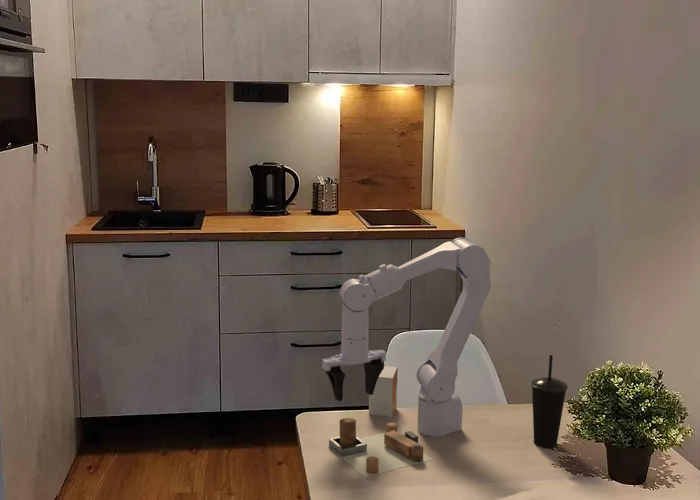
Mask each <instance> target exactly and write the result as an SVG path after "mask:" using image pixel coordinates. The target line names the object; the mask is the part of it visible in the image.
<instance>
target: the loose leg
mask: <svg viewBox="0 0 700 500" xmlns="http://www.w3.org/2000/svg"><path fill="white" fill-rule="evenodd" d="M339 436H340V446H342V447H343V448H346V447H350V446H354V445H356V436H357V420H356V419H355V418H352V417H344V418H341V419H340V420H339Z"/></svg>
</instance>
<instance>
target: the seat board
mask: <svg viewBox="0 0 700 500" xmlns="http://www.w3.org/2000/svg"><path fill="white" fill-rule="evenodd" d="M385 430H386V431H385V432H383V433H381V432H380V433H377V434H373V435H369V436H364V437H361V438H360V437H359V438H360V439H361V440H362V441H364V442H365V443H366V444H367V451H365V452H361V453H357V454H353V455H349V456H345V457H342V456H340V455H339V454H338V453H337V452H336V451H334V450H333V449H332V448H331V447H330V446H329V445H328V447H329V448H330V449H331V450H333V451H334V452H335V454H336V455H338V456H340V457H341V458H342V459H343V460H344V461H346V462H347V463H348V464H349V465H350V466H351V467H352V468H353V469H355V470H356V472H358V473H359V474H360V475H362V476H363V477H364V478H367V477H371V476H375V475H379V474H383V473H386V472H392V471H394V470H399V469H403V468H406V467H407V468H408V467H409V466H415V465H418V464H422V463H426V462H430V461H434V459H433V458H431V457H430V455H427V454H426V453H424V452H423V460H421V461H413V460H411V459H410V458H408V457H406V456H404V455H402V454H401V453H399V452H397V451H396V450H394V449H392V448H390V447H389V446H387V445H385V444H384V433H387V432H390V431H393V430H394V431H396V432H398V424H397V423H396V422H388V423H386V429H385ZM404 436H405V437H407V438H409V439H411V440H412V441H414V442H416V443H418V444H419V435H417V434H416V433H414V432H413V431H411V430H408V431H405V432H404Z"/></svg>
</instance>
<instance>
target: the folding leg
mask: <svg viewBox="0 0 700 500" xmlns="http://www.w3.org/2000/svg"><path fill="white" fill-rule="evenodd" d="M383 433H384V444H385V445H387V446H389V447H390V448H392V449H394V450H396V451H397V452H399V453H401V454H402V455H404V456H406V457H408V458H410V459H411V460H413V461H421V460H423V453H424V449H425V448H424V446H423V445H421V444H420V443H419V442H418V443H416V442H414V441H412V440H411V439H409V438H407V437H405V435H404V434H401V433H399V432H398V431H397V432H396V431H394V430H393V431H390V432H387V433H386V432H383Z"/></svg>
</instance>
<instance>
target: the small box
mask: <svg viewBox="0 0 700 500" xmlns="http://www.w3.org/2000/svg"><path fill="white" fill-rule="evenodd" d="M398 368H399V367H398V366H390V365H389V366H388V365H387V366H386V365H384V369H383V370H382V372H381V374H380V375H379V377H378V380H377V382H376V385H375V389H374V392H373V395H369V394H368V416H369V415H370V416H379V417H380V416H381V417H389V418H390V417H393V415H394V412H395V410H397V409H398V408H397V401H398V372H399V371H398Z"/></svg>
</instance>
